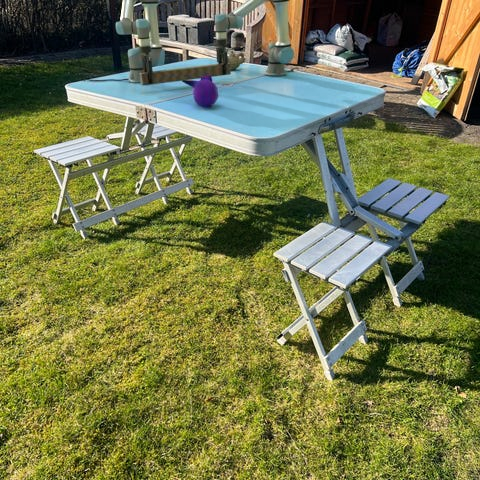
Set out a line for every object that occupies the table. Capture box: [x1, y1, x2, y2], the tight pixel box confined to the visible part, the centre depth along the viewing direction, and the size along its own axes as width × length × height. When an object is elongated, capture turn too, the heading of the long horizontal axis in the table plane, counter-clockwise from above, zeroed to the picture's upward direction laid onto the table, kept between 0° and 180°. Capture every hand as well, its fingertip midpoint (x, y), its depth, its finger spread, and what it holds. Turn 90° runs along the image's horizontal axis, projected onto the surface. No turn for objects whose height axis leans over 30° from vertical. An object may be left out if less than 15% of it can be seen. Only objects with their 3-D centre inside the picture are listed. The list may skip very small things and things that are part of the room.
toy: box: [181, 75, 219, 108], centre depth 268 cm, size 16×18×27 cm
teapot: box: [228, 50, 245, 71], centre depth 369 cm, size 21×12×15 cm, turn 120°
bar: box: [139, 63, 232, 87], centre depth 311 cm, size 66×5×8 cm, turn 119°
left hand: (149, 83), depth 301 cm, fingers closed on bar, 5 cm apart
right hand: (222, 73), depth 324 cm, fingers closed on bar, 5 cm apart
